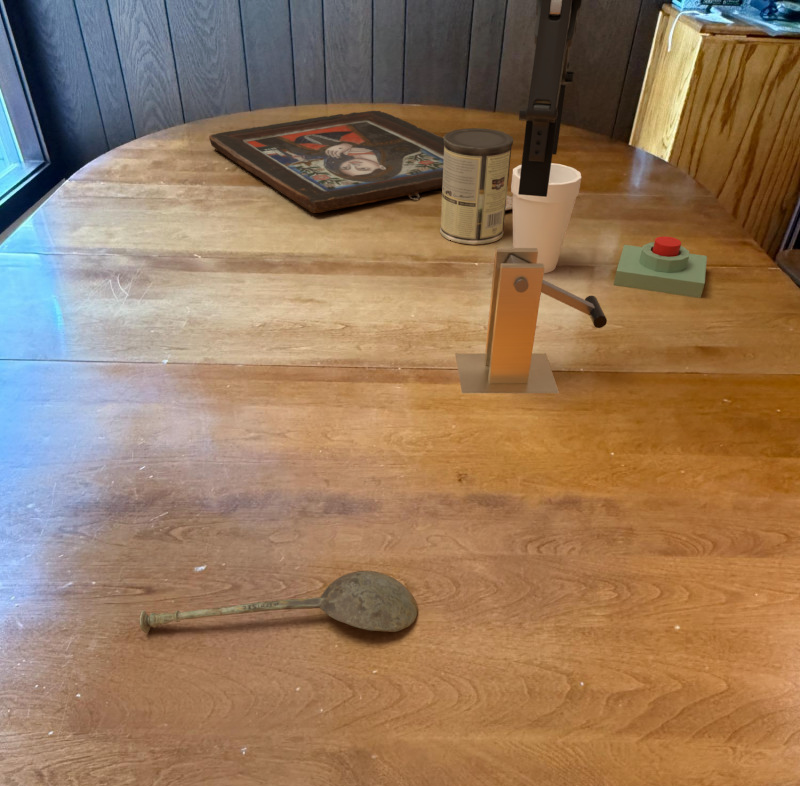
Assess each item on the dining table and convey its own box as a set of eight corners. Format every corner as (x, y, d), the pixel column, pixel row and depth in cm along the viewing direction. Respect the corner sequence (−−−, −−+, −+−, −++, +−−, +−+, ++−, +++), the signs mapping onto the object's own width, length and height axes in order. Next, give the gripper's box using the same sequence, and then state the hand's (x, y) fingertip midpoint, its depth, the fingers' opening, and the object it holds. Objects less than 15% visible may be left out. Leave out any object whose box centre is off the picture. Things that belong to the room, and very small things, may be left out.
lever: (589, 312, 88) (601, 294, 86) (599, 334, 84) (612, 315, 83) (497, 268, 84) (509, 248, 82) (503, 288, 80) (515, 268, 79)
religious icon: (316, 222, 126) (315, 203, 124) (207, 150, 154) (204, 133, 152) (507, 181, 143) (509, 163, 141) (377, 122, 171) (377, 107, 169)
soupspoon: (422, 645, 62) (411, 588, 67) (425, 615, 60) (414, 558, 65) (137, 659, 59) (149, 599, 64) (129, 628, 57) (142, 568, 62)
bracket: (544, 362, 94) (563, 240, 84) (558, 402, 87) (580, 275, 77) (454, 362, 94) (463, 240, 84) (461, 402, 87) (471, 275, 77)
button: (678, 250, 111) (682, 238, 110) (677, 260, 109) (680, 247, 107) (653, 247, 112) (656, 234, 111) (651, 256, 109) (654, 244, 108)
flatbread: (469, 211, 131) (469, 205, 130) (474, 196, 136) (474, 190, 136) (517, 215, 130) (518, 209, 129) (520, 200, 135) (521, 194, 135)
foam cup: (550, 284, 110) (564, 189, 102) (492, 269, 114) (501, 176, 105) (575, 261, 116) (591, 170, 108) (519, 247, 120) (530, 158, 111)
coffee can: (453, 216, 129) (458, 124, 120) (511, 227, 126) (522, 133, 117) (428, 238, 122) (433, 141, 113) (490, 249, 119) (499, 151, 110)
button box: (702, 270, 115) (710, 243, 112) (700, 298, 108) (708, 270, 105) (621, 258, 117) (626, 232, 115) (613, 285, 110) (619, 258, 108)
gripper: (539, -104, 75) (515, 135, 89) (511, -85, 57) (486, 211, 71) (618, -102, 74) (581, 140, 88) (615, -82, 55) (568, 218, 70)
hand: (538, 172), depth 79 cm, fingers open, 13 cm apart
